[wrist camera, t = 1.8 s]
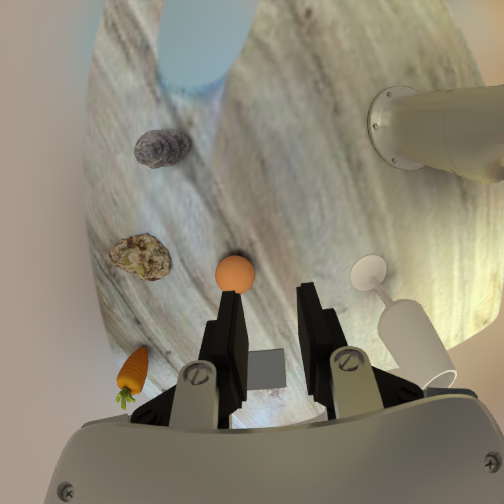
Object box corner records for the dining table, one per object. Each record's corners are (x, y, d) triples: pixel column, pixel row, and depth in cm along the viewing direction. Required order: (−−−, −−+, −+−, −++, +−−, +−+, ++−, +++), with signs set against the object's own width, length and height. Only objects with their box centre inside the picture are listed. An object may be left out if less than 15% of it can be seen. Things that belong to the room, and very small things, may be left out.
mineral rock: (169, 238, 38) (164, 292, 39) (177, 235, 42) (172, 284, 43) (105, 228, 38) (103, 279, 39) (118, 227, 42) (115, 273, 43)
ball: (252, 247, 40) (252, 264, 35) (256, 280, 43) (256, 300, 38) (214, 251, 41) (208, 269, 36) (221, 283, 43) (216, 304, 38)
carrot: (138, 333, 48) (110, 392, 34) (160, 346, 49) (138, 407, 36) (130, 347, 50) (104, 403, 36) (151, 359, 51) (130, 416, 37)
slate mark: (283, 348, 49) (283, 349, 48) (286, 386, 53) (286, 387, 53) (219, 353, 49) (219, 354, 49) (230, 390, 54) (230, 390, 54)
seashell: (171, 172, 36) (144, 186, 27) (147, 145, 34) (114, 151, 25) (200, 146, 34) (180, 151, 25) (175, 118, 33) (147, 114, 24)
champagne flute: (384, 288, 43) (451, 394, 21) (349, 293, 44) (402, 412, 22) (388, 252, 40) (473, 354, 18) (350, 257, 41) (420, 374, 19)
